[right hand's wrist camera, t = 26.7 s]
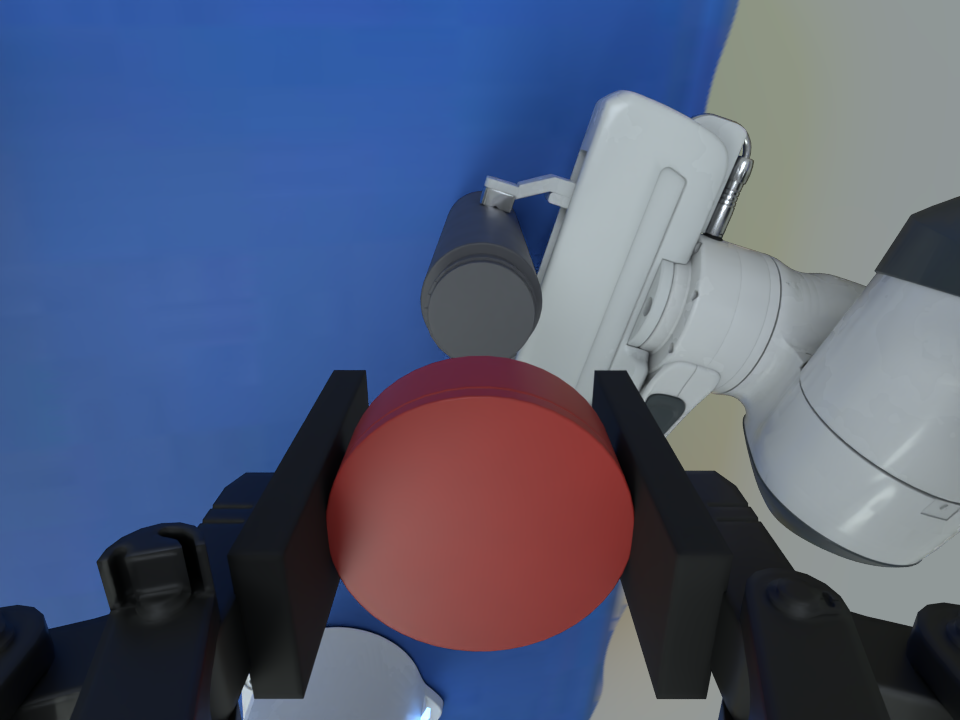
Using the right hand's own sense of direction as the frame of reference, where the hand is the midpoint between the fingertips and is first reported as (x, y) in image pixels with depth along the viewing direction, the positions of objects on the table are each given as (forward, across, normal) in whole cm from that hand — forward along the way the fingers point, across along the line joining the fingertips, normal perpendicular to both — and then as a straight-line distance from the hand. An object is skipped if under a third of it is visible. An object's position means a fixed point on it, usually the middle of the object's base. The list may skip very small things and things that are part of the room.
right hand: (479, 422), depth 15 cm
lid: (-4, 0, 0) cm, 4 cm away
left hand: (+22, -1, 0) cm, 22 cm away
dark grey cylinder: (+28, 0, 0) cm, 28 cm away
